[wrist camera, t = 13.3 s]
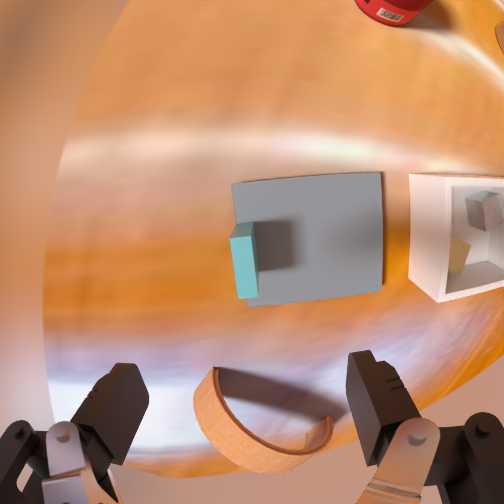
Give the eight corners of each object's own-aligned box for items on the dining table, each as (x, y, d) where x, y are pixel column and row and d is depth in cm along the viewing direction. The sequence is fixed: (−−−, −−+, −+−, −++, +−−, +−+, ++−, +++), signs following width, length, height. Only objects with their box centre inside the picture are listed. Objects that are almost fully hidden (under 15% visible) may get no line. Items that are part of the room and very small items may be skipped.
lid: (373, 172, 27) (408, 173, 20) (375, 284, 31) (404, 316, 23) (233, 183, 28) (222, 187, 20) (248, 299, 32) (244, 338, 24)
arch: (308, 436, 38) (314, 485, 28) (194, 389, 36) (178, 444, 26) (332, 416, 36) (344, 467, 27) (213, 364, 34) (200, 422, 24)
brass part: (454, 237, 27) (471, 245, 24) (445, 265, 28) (460, 274, 25) (434, 229, 27) (451, 236, 24) (424, 258, 28) (440, 268, 25)
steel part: (482, 190, 26) (499, 194, 22) (486, 217, 26) (503, 222, 23) (464, 198, 26) (482, 202, 23) (468, 225, 27) (486, 231, 24)
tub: (490, 176, 26) (526, 180, 19) (486, 264, 29) (518, 281, 22) (408, 173, 27) (444, 176, 20) (408, 278, 30) (437, 303, 23)
